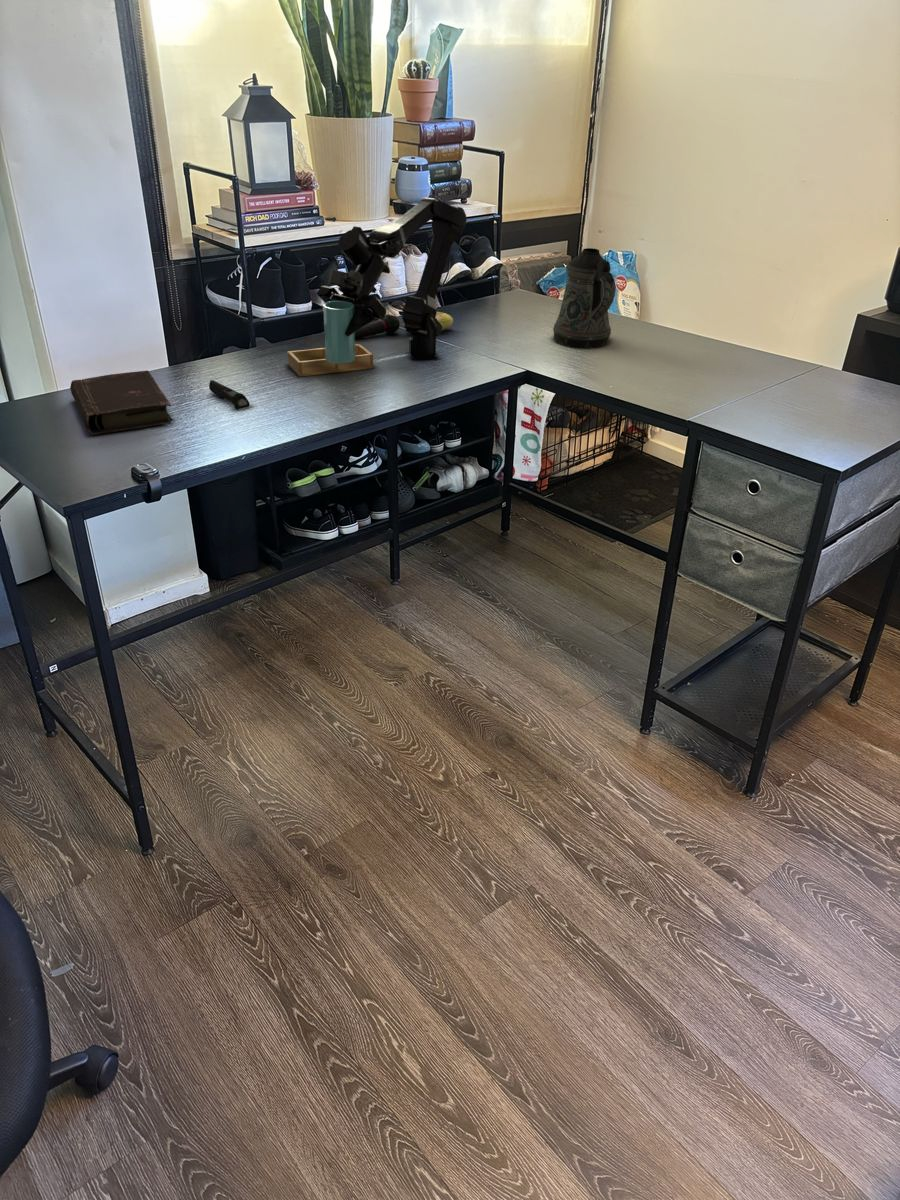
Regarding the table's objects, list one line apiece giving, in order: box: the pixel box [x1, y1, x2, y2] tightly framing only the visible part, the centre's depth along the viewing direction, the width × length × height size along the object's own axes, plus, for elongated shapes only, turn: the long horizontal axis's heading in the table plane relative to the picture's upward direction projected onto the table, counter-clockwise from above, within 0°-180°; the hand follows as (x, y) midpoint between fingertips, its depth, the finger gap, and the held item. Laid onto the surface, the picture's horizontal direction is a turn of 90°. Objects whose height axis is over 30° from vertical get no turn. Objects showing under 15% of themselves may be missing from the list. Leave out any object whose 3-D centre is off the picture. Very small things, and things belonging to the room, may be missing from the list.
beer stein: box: [552, 247, 617, 349], centre depth 249 cm, size 16×19×25 cm
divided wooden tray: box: [287, 343, 374, 377], centre depth 230 cm, size 20×10×4 cm, turn 114°
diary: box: [69, 369, 174, 436], centre depth 198 cm, size 19×25×5 cm
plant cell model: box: [403, 311, 454, 331], centre depth 260 cm, size 11×8×15 cm
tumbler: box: [322, 301, 356, 364], centre depth 214 cm, size 7×7×13 cm
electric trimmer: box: [208, 379, 251, 410], centre depth 207 cm, size 4×16×3 cm, turn 39°
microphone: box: [355, 313, 401, 340], centre depth 255 cm, size 6×6×20 cm
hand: (334, 332), depth 213 cm, fingers closed on tumbler, 7 cm apart
